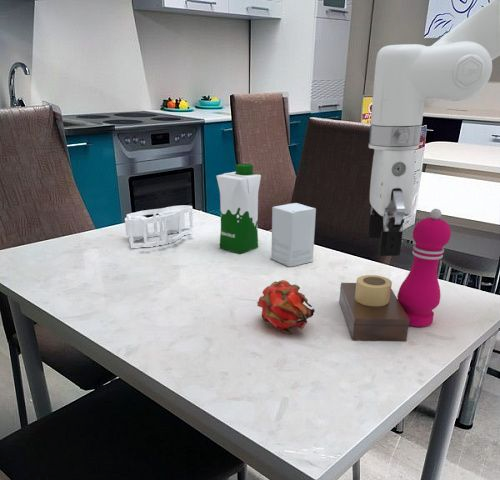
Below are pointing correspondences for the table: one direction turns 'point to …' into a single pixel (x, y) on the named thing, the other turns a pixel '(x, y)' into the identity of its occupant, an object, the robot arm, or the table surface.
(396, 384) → the table surface
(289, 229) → the white packaging box
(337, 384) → the table surface
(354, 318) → the case
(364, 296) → the tape
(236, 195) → the milk carton
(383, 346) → the table surface
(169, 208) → the clear plastic caddy
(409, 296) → the pepper mill
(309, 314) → the dragon fruit
